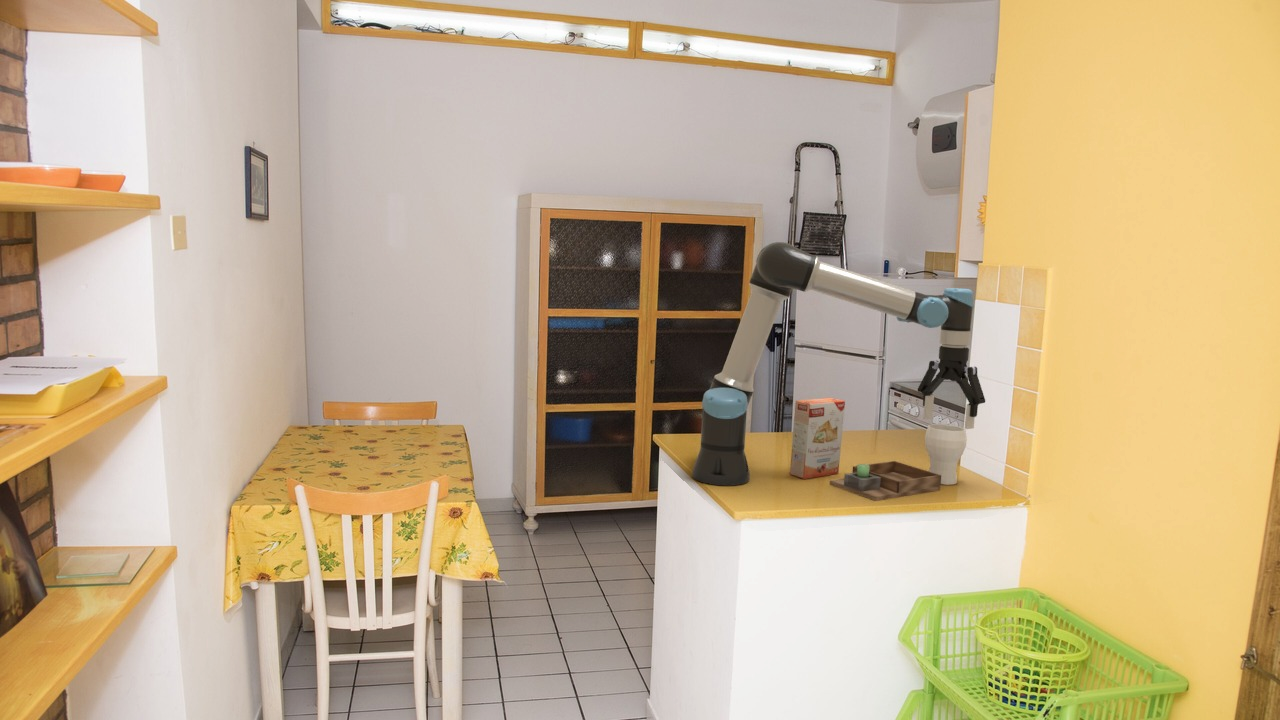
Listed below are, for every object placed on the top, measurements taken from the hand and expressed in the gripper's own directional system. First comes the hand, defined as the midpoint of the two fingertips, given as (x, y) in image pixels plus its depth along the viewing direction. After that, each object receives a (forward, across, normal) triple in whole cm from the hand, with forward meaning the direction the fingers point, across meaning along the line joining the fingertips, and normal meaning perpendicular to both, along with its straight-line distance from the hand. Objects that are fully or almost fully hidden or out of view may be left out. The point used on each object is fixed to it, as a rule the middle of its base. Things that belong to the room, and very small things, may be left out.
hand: (947, 423), depth 230 cm
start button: (+13, +2, +29) cm, 32 cm away
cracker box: (+16, +19, +29) cm, 39 cm away
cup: (+16, 0, 0) cm, 16 cm away
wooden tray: (+16, +2, +20) cm, 26 cm away
